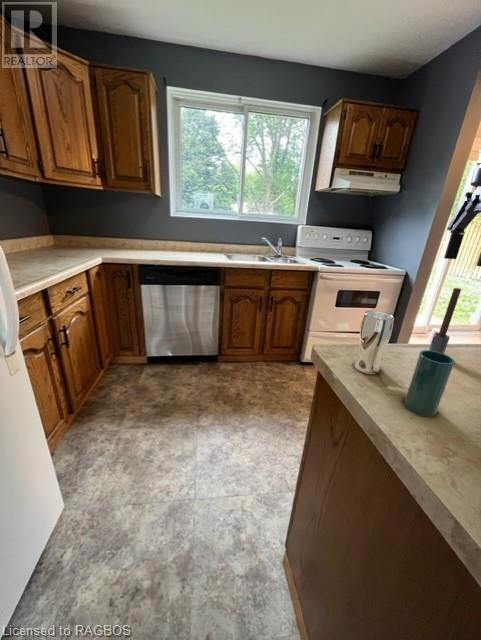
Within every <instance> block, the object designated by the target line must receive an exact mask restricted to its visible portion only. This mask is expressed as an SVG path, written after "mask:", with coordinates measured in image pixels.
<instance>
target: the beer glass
mask: <svg viewBox="0 0 481 640" xmlns="http://www.w3.org/2000/svg"><path fill="white" fill-rule="evenodd" d="M394 321H395V316H394V315H393V314H391V313H388V312H385V311H381V310H380V311H379V310H366V311H364V315H363V318H362V321H361V324H360V328H359V337H358V341H359V342H358V355H357V358H356V360H355V362H354V368H355V370H357V371H358V372H361V373H363V374H366V375H377V374H379V372H380V370H381V369H380V368H381V366H380V365H381V359H382V356H383V355H384V353H385V350H386V348H387V347H388V344H389V342H390V339H391V336H392V332H393V327H394V323H395V322H394Z"/></svg>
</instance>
